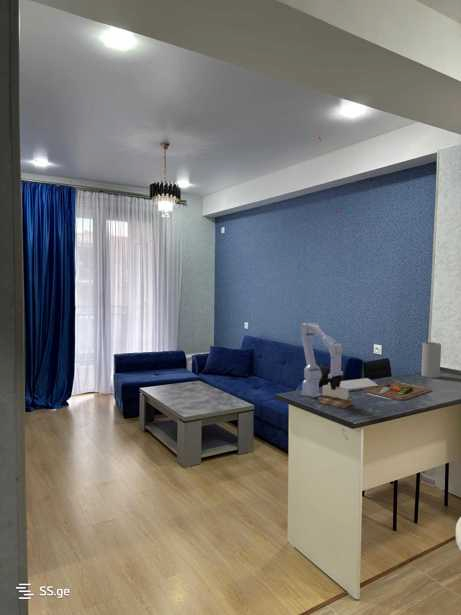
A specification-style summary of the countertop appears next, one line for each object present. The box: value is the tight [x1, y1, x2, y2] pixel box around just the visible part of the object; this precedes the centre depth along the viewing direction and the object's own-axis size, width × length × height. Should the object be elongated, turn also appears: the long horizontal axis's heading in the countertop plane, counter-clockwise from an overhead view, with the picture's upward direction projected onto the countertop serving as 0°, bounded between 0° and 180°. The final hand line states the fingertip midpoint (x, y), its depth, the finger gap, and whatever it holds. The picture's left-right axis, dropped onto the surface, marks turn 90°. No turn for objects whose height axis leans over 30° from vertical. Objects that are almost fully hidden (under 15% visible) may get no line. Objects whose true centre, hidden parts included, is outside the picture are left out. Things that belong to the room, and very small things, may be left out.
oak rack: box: [317, 395, 352, 409], centre depth 232 cm, size 16×9×3 cm, turn 49°
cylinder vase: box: [421, 341, 442, 379], centre depth 307 cm, size 12×12×25 cm
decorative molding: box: [327, 377, 379, 392], centre depth 268 cm, size 34×5×10 cm
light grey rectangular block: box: [321, 384, 350, 399], centre depth 231 cm, size 14×4×5 cm, turn 50°
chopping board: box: [363, 381, 432, 401], centre depth 262 cm, size 45×27×3 cm, turn 130°
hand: (335, 388), depth 231 cm, fingers closed on light grey rectangular block, 4 cm apart
